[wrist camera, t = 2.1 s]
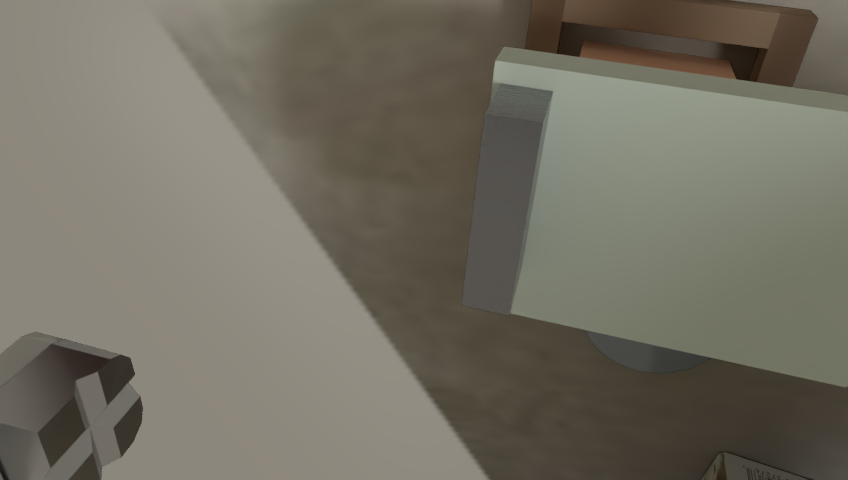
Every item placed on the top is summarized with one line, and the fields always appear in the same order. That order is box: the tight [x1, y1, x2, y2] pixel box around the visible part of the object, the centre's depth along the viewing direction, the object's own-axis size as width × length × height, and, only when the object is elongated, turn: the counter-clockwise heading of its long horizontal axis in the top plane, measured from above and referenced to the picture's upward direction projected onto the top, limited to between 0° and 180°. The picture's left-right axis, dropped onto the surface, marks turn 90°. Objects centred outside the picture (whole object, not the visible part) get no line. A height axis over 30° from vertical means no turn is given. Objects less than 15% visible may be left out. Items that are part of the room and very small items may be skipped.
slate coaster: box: [586, 330, 710, 373], centre depth 26 cm, size 6×6×1 cm
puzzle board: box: [525, 0, 818, 87], centre depth 19 cm, size 18×8×6 cm, turn 86°
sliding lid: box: [461, 47, 848, 387], centre depth 15 cm, size 10×7×3 cm
